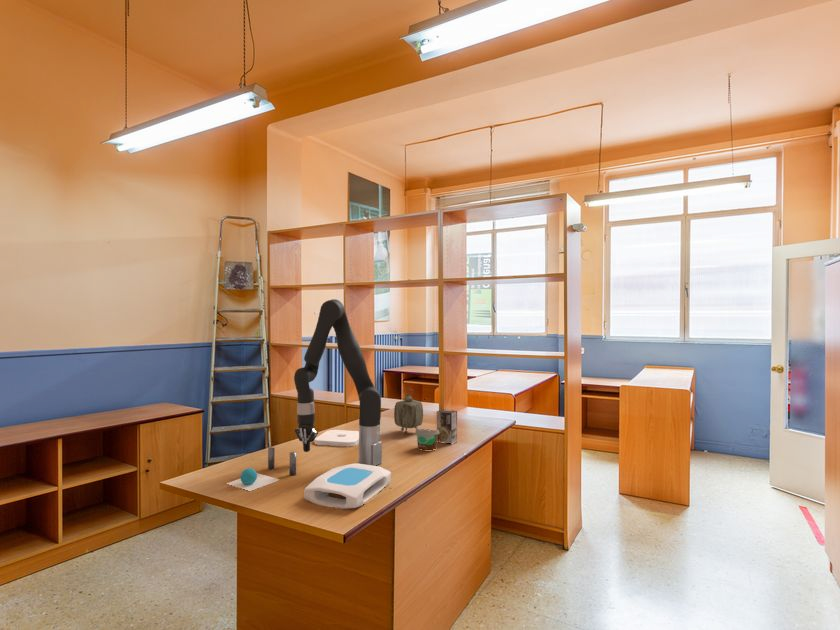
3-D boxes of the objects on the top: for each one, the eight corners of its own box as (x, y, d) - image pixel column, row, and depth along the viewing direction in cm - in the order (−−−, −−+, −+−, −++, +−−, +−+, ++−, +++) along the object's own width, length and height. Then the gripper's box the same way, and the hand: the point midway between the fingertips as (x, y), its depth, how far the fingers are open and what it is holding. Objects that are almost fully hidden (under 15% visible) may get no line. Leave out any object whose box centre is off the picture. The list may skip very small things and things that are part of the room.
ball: (244, 483, 168) (255, 488, 172) (252, 467, 171) (262, 472, 175) (234, 480, 171) (244, 485, 175) (242, 464, 174) (252, 469, 178)
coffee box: (457, 442, 233) (457, 410, 233) (451, 444, 228) (451, 413, 228) (442, 439, 238) (442, 408, 238) (436, 442, 233) (436, 410, 233)
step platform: (302, 502, 157) (303, 484, 157) (344, 476, 183) (345, 461, 183) (355, 512, 149) (355, 493, 149) (391, 483, 175) (391, 467, 175)
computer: (353, 448, 223) (353, 442, 223) (312, 445, 227) (312, 440, 227) (367, 436, 244) (367, 431, 244) (329, 434, 249) (329, 429, 249)
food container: (411, 450, 218) (411, 429, 218) (416, 446, 224) (416, 426, 224) (435, 453, 214) (435, 432, 214) (439, 449, 219) (439, 429, 220)
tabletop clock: (423, 433, 251) (423, 388, 251) (414, 436, 243) (414, 390, 243) (401, 429, 259) (401, 386, 259) (392, 432, 251) (392, 388, 251)
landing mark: (279, 480, 177) (279, 479, 177) (249, 491, 166) (249, 491, 166) (256, 473, 185) (256, 472, 185) (226, 483, 173) (226, 483, 173)
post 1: (275, 468, 191) (275, 447, 191) (270, 470, 189) (270, 448, 189) (271, 467, 192) (271, 446, 192) (266, 469, 190) (266, 447, 190)
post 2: (297, 474, 184) (297, 452, 184) (292, 476, 182) (292, 453, 182) (292, 473, 185) (293, 451, 185) (288, 475, 183) (288, 452, 183)
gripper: (322, 412, 198) (323, 451, 198) (302, 409, 206) (302, 447, 206) (310, 415, 192) (310, 456, 192) (289, 412, 199) (289, 451, 199)
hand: (306, 451), depth 199 cm, fingers closed
